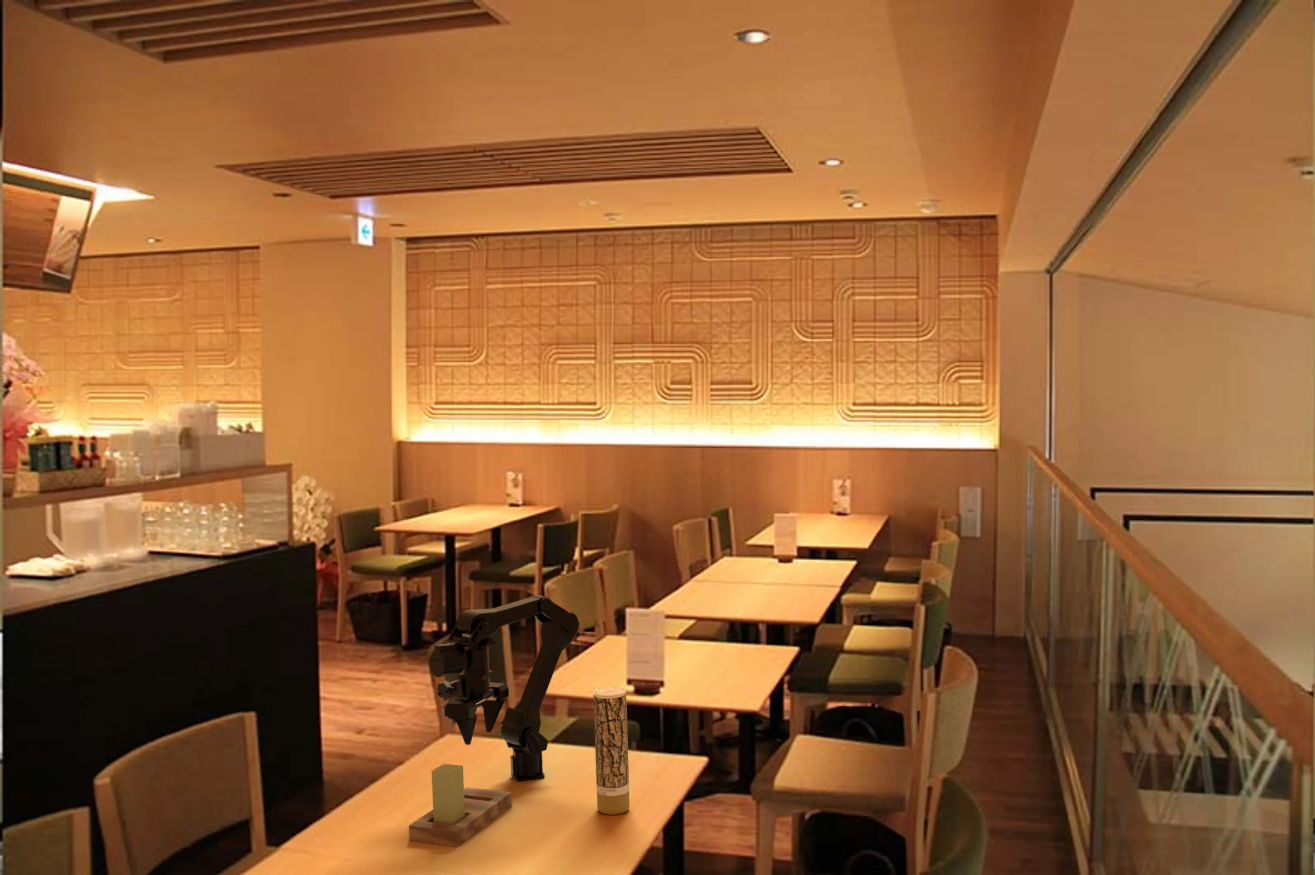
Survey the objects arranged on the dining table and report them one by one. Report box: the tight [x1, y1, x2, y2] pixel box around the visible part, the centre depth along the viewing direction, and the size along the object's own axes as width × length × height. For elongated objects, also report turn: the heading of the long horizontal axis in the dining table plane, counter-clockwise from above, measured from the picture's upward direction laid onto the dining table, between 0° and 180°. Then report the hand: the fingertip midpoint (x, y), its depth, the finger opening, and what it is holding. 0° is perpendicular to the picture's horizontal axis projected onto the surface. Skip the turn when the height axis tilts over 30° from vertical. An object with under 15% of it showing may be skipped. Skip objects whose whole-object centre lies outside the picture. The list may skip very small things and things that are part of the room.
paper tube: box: [593, 686, 631, 815], centre depth 232 cm, size 7×7×25 cm
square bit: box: [431, 763, 465, 825], centre depth 223 cm, size 4×4×13 cm
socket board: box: [408, 786, 513, 848], centre depth 228 cm, size 22×11×3 cm, turn 159°
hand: (478, 738), depth 245 cm, fingers open, 9 cm apart
